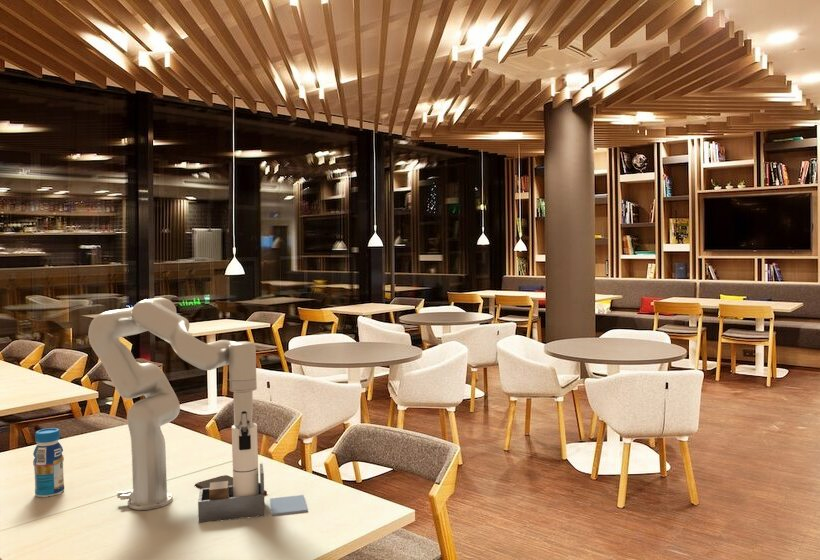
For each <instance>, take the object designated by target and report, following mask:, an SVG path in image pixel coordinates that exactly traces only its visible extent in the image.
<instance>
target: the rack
mask: <svg viewBox="0 0 820 560" xmlns="http://www.w3.org/2000/svg"><path fill="white" fill-rule="evenodd" d="M264 473H265V472H264V464H263V463H259V495H250V496H240V497H234V494H233V486H228V492H229V498H221V499H212V500H210V499H209V488H203V489H199V494H198V500H197V509H198V510H197V511H198V512H197V513H198V517H197V518H198V524H203V523H213V522H221V520H223V521H230V520H229V519H231V520H239V518H240V519H247V518H248V517H249V518H255V517H256V516H257V517H265V516H266V513H265V512H266V508H265V507H266V506H265V505H266V504H265V501H266V500H265V495H264V490H265V476H264V475H265V474H264ZM264 515H265V516H264ZM257 517H256V518H257Z"/></svg>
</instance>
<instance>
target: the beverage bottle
mask: <svg viewBox="0 0 820 560" xmlns="http://www.w3.org/2000/svg"><path fill="white" fill-rule="evenodd" d="M60 435H61V431H60V429H59V428H57V427H56V428H55V427H51V428H49V427H48V428H42V429H39V430H37V431H36V432H35V434H34V437H35V443H36V444H37V445H36V446H35V448H34V450H33V454H32V455H33V457H34V459H33V462H32V463H33V467H34V470H33V472H34V495H35V496H36V497H39V498H49V497H48V496H50V497H54V495H55V496H57V495H61V494H62V493H63V492H64V491H65V480H64V459H65V456H64V455H63V451H64V449H63V446H62V444H61V443H60V442H59V441H60V438H61V436H60Z"/></svg>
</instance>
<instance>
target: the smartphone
mask: <svg viewBox="0 0 820 560" xmlns="http://www.w3.org/2000/svg"><path fill="white" fill-rule="evenodd" d="M222 481H228V486H233V476H230V475H227V474H224V475H220V476H217V477H212V478H208V479H206V480H205V479H204V480H202V481H199V482H196V483H195V484H194V487H195V486H196V487H195V488H197V489H199V488H200V489H203V488H210V483H212V482H222ZM200 489H199V490H200ZM267 494H268V491H267V490H265V489H264V496H267Z"/></svg>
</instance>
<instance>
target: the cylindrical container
mask: <svg viewBox="0 0 820 560" xmlns="http://www.w3.org/2000/svg"><path fill="white" fill-rule="evenodd" d="M247 424H248V423H247ZM241 425H242V423H241ZM249 425H250V424H249ZM247 428H248V427H247ZM241 429H242V428H241ZM249 431H250V435H251V449H248V450H239V436H240V427H239V426H237V427H235V426H234V424H233V425H231V449H232V450H231V451H232V453H231V457H232V477H233V494H234V497H240V496H250V495H259V483H260V480H259V455H258V454H259V453H258V451H259V450H258V449H259V447H258V424H257V423H255V422H252V424H251V425H250V426H249Z"/></svg>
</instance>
